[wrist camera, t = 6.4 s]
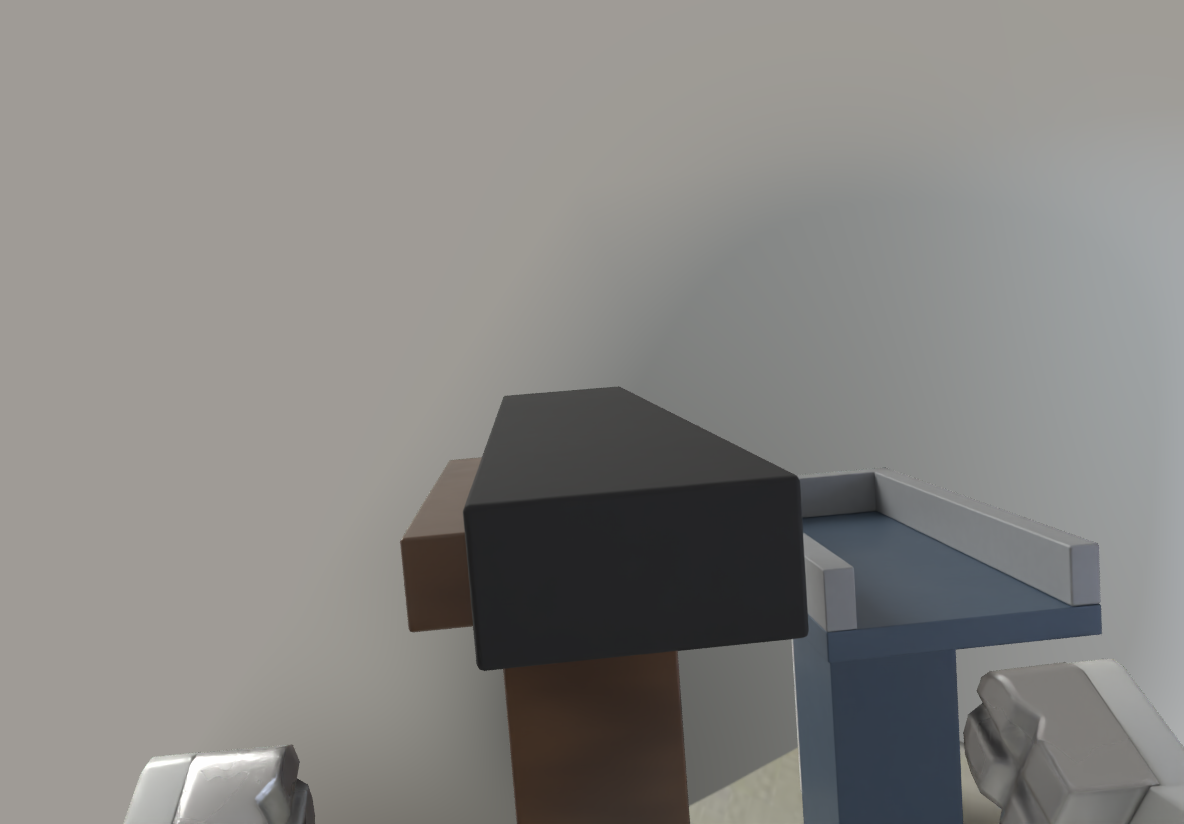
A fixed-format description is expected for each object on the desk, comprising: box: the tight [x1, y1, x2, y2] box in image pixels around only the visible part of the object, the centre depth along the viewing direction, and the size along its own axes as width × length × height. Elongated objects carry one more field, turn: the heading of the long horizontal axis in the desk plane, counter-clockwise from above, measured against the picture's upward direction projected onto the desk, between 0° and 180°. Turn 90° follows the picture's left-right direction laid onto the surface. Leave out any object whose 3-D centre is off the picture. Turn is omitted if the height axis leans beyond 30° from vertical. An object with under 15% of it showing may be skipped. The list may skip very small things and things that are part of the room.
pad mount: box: [793, 467, 1102, 824], centre depth 38 cm, size 10×17×22 cm, turn 4°
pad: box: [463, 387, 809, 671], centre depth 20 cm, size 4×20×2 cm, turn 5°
